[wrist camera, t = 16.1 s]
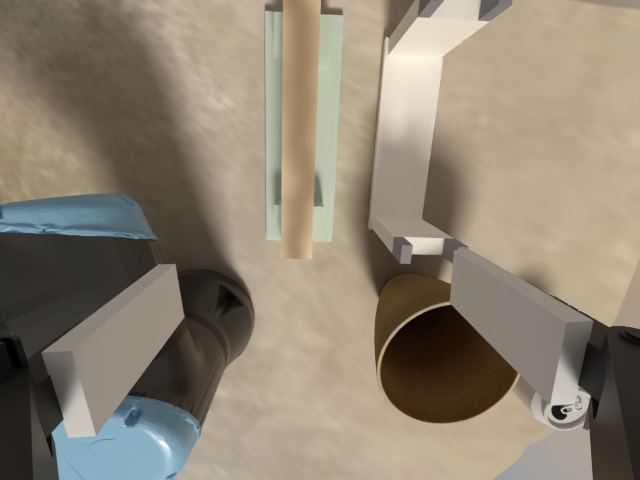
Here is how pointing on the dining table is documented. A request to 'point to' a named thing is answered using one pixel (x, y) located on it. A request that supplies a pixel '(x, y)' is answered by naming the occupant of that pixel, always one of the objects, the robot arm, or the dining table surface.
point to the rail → (299, 124)
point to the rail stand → (416, 121)
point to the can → (553, 407)
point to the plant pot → (434, 355)
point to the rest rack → (324, 129)
